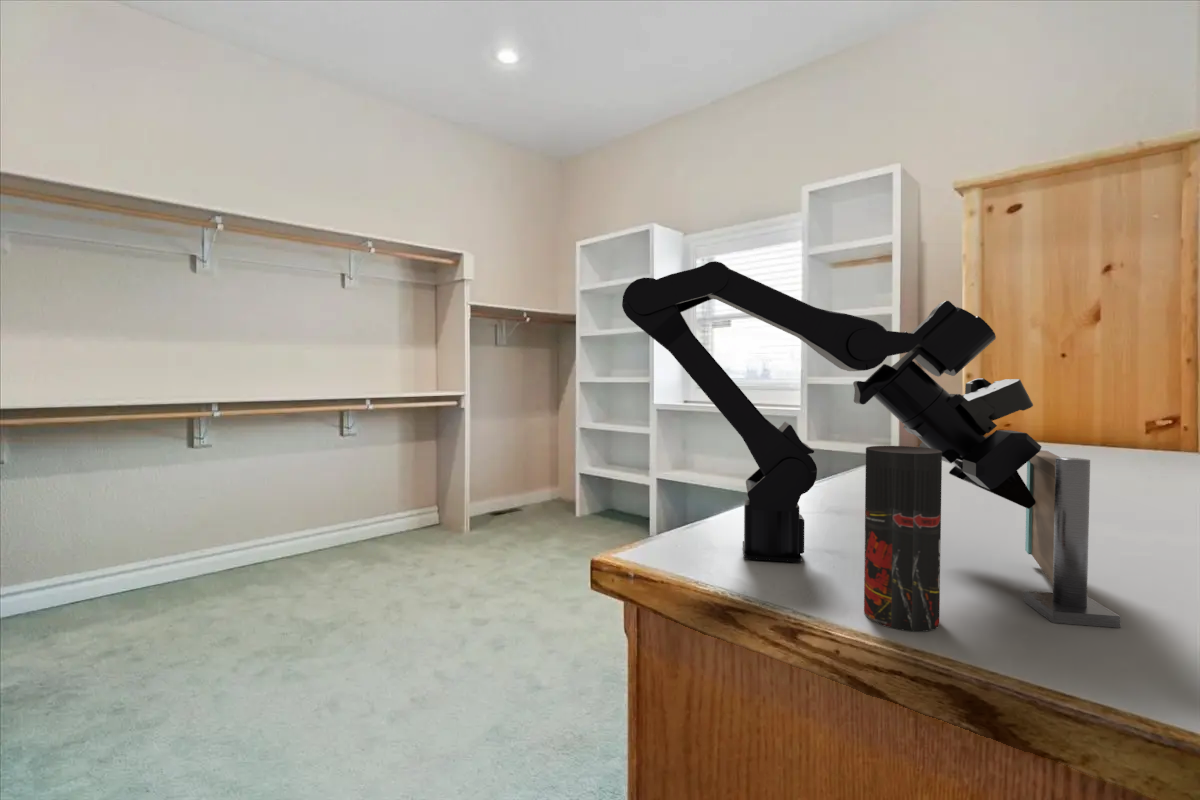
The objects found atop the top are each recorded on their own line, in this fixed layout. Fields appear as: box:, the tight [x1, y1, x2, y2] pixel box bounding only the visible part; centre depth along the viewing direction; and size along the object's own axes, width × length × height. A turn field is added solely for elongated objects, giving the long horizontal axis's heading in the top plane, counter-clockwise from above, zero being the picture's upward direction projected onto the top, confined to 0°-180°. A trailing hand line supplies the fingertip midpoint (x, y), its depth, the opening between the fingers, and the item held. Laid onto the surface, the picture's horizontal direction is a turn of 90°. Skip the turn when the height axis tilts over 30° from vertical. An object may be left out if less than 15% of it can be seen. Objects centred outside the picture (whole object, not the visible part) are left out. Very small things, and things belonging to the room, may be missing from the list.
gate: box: [1025, 449, 1060, 585], centre depth 59 cm, size 2×14×12 cm, turn 152°
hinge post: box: [1023, 456, 1121, 629], centre depth 52 cm, size 5×5×14 cm
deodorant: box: [863, 445, 943, 633], centre depth 51 cm, size 6×6×15 cm
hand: (1030, 504), depth 64 cm, fingers closed
